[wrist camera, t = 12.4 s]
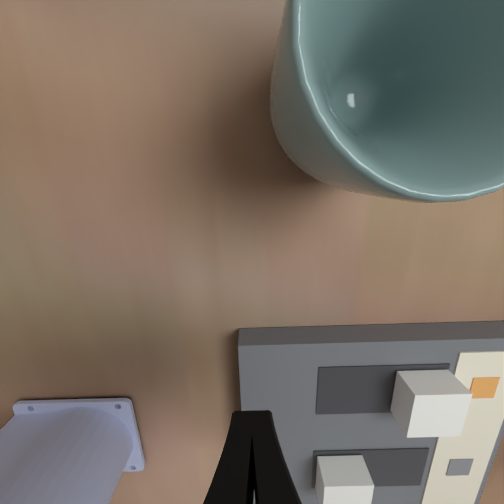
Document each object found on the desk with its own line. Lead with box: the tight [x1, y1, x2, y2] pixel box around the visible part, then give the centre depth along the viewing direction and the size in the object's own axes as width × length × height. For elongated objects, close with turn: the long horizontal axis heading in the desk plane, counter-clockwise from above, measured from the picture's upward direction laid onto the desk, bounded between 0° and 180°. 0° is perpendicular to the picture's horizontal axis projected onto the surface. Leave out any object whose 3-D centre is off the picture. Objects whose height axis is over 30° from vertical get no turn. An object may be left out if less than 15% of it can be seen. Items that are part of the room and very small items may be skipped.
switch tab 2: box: [390, 370, 473, 438], centre depth 17 cm, size 4×4×2 cm
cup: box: [270, 0, 504, 203], centre depth 10 cm, size 8×8×10 cm
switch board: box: [238, 321, 504, 504], centre depth 21 cm, size 20×24×2 cm
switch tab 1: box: [315, 455, 374, 504], centre depth 19 cm, size 4×4×2 cm
